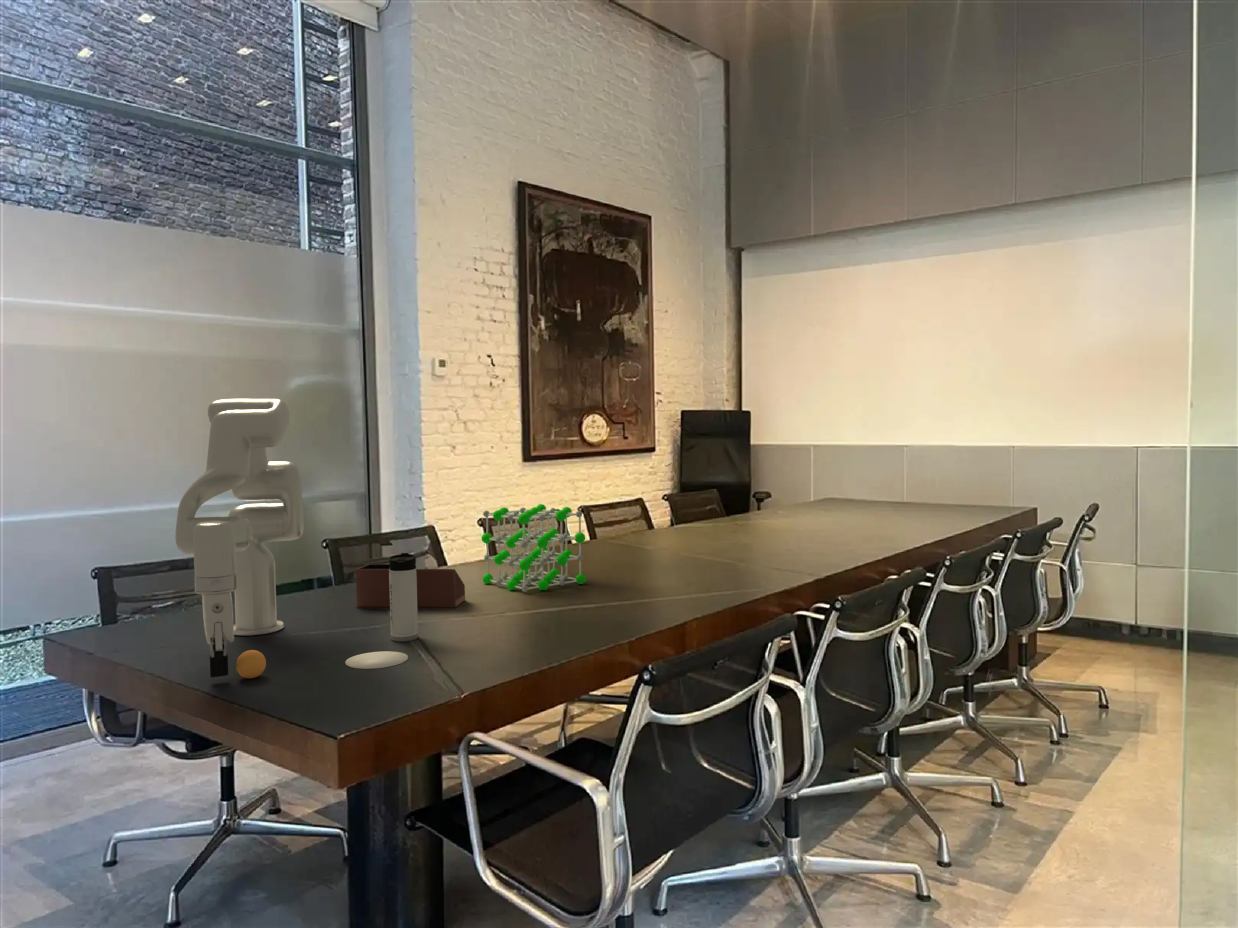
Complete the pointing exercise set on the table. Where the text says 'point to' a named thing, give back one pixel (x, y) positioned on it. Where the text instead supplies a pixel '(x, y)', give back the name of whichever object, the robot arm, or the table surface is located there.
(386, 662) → the disc
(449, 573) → the desk organizer
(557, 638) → the table surface
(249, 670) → the ball
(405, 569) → the travel mug
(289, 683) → the table surface
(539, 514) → the molecular structure model
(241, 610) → the robot arm
